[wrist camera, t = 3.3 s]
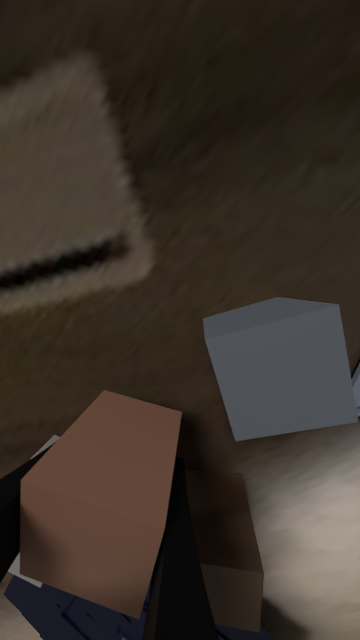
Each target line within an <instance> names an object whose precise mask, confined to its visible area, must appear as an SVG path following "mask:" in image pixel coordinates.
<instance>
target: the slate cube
mask: <svg viewBox="0 0 360 640" xmlns="http://www.w3.org/2000/svg"><path fill="white" fill-rule="evenodd" d="M203 325H204V334H205V341H206V345H207V348H208V351H209V355H210V358H211V361H212V365H213V368H214V371H215V375H216V378H217V381H218V385H219V388H220V391H221V395H222V398H223V401H224V405H225V408H226V411H227V415H228V418H229V421H230V425H231V428H232V431H233V434H234V438H235V441H240V440H247V439H253V438H260V437H266V436H272V435H279V434H285V433H291V432H298V431H304V430H310V429H317V428H323V427H329V426H336V425H342V424H348V423H355V422H358V416H357V411H356V405H355V399H354V393H353V387H352V381H351V375H350V369H349V363H348V357H347V351H346V345H345V339H344V333H343V327H342V321H341V315H340V309H339V305H338V304H330V303H321V302H313V301H305V300H297V299H288V298H280V297H276V298H273V299H269V300H266V301H262V302H259V303H255V304H252V305H248V306H245V307H241V308H238V309H234V310H231V311H227V312H224V313H220V314H217V315H213V316H210V317H206V318H203Z"/></svg>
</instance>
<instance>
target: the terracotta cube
mask: <svg viewBox="0 0 360 640" xmlns="http://www.w3.org/2000/svg"><path fill="white" fill-rule="evenodd" d="M181 416H182V412H180V411H177V410H173V409H170V408H166V407H162V406H159V405H155V404H152V403H148V402H145V401H141V400H138V399H134V398H130V397H127V396H123V395H120V394H116V393H113V392H109V391H106V390H104V391H103V392H102V393H101V394H100V395H99V397H98V398H97V399H96V400H95V401H94V402H93V403H92V404H91V405H90V406H89V407H88V408H87V409H86V410H85V412H84V413H83V414H82V415H81V416H80V417H79V418H78V419H77V420H76V421H75V422H74V423H73V424H72V426H71V427H70V428H69V429H68V430H67V431H66V432H65V433H64V434H63V435H62V436H61V437H60V438H59V439H58V441H57V442H56V443H55V444H54V445H53V446H52V447H51V448H50V449H49V450H48V451H47V452H46V453H45V454H44V456H43V457H42V458H41V459H40V460H39V461H38V462H37V463H36V464H35V465H34V466H33V467H32V468H31V470H30V471H29V472H28V473H27V474H26V475H25V476H24V477H23V478H22V479H21V501H20V574H21V575H23V576H26V577H28V578H31V579H34V580H36V581H39V582H41V583H44V584H47V585H49V586H52V587H55V588H57V589H60V590H62V591H65V592H68V593H70V594H73V595H76V596H78V597H81V598H83V599H86V600H89V601H91V602H94V603H96V604H99V605H102V606H104V607H107V608H110V609H112V610H115V611H117V612H120V613H123V614H125V615H128V616H131V617H133V618H136V619H138V620H139V618H140V615H141V611H142V608H143V604H144V601H145V597H146V594H147V590H148V587H149V583H150V579H151V576H152V572H153V569H154V565H155V562H156V558H157V555H158V551H159V547H160V544H161V540H162V537H163V533H164V530H165V524H166V517H167V511H168V504H169V497H170V490H171V483H172V477H173V470H174V463H175V456H176V450H177V443H178V436H179V429H180V422H181Z"/></svg>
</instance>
